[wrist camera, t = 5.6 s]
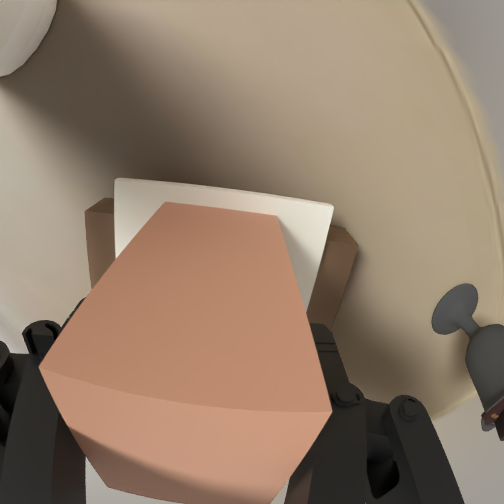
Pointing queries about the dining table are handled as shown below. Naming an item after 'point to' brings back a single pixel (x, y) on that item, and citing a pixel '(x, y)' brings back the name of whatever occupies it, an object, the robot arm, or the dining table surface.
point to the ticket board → (326, 284)
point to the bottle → (22, 30)
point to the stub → (197, 345)
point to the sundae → (477, 351)
